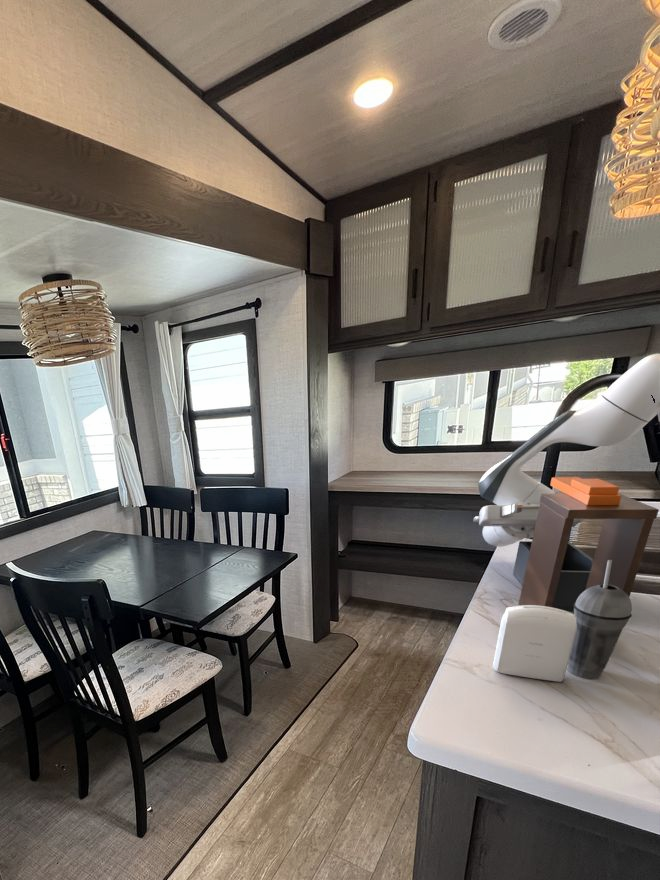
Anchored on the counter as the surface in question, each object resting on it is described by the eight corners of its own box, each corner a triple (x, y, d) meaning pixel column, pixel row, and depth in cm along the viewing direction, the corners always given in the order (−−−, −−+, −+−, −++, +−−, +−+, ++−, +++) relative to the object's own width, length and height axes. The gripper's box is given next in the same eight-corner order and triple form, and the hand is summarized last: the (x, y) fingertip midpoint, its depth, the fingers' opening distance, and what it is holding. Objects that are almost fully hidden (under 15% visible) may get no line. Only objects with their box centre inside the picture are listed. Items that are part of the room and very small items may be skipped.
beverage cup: (623, 680, 76) (662, 564, 68) (584, 686, 75) (619, 569, 67) (583, 657, 82) (614, 549, 74) (546, 663, 81) (574, 555, 74)
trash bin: (561, 575, 116) (569, 541, 113) (601, 612, 97) (612, 573, 94) (512, 574, 119) (519, 541, 116) (542, 609, 100) (551, 571, 97)
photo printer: (492, 673, 80) (505, 608, 75) (491, 661, 83) (504, 598, 78) (565, 685, 75) (585, 617, 70) (561, 672, 79) (579, 606, 74)
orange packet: (549, 485, 93) (553, 471, 92) (575, 485, 92) (579, 470, 91) (587, 505, 77) (591, 488, 76) (619, 505, 76) (624, 488, 75)
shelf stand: (581, 621, 94) (617, 492, 84) (613, 654, 83) (659, 509, 72) (514, 618, 98) (541, 493, 87) (535, 648, 86) (569, 509, 76)
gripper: (471, 508, 116) (489, 493, 103) (566, 508, 111) (598, 491, 98) (470, 533, 116) (488, 521, 102) (565, 534, 111) (598, 521, 97)
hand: (543, 506), depth 100 cm, fingers open, 8 cm apart
